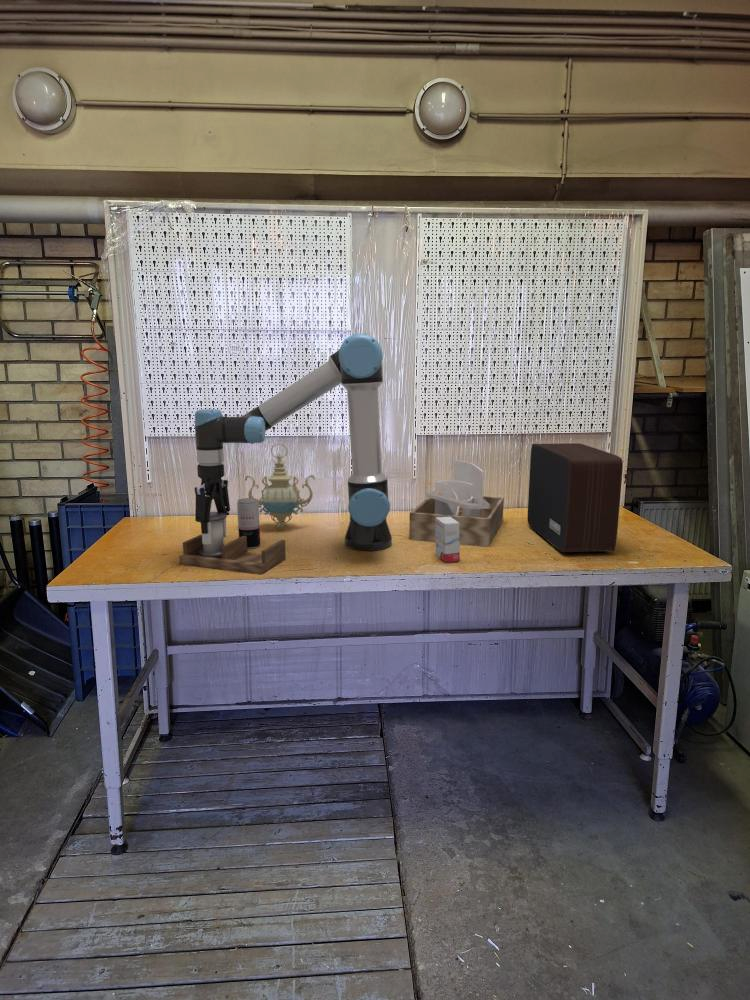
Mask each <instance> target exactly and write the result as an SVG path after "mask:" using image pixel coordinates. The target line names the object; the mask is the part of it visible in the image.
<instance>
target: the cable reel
mask: <svg viewBox="0 0 750 1000" xmlns="http://www.w3.org/2000/svg"><path fill="white" fill-rule="evenodd" d="M227 517H228V515H226V513H223V512H217V511H210V516H209V522H211V536H212V544H203V549H201V550H200V551H199V555H200V556H204V557H213V558H218V557H222V554H221V547H222V546H224V545H225V542H224V541H225V540H224V538H225V537H223V519H225V518H226V519H227ZM199 518H200V517H199Z"/></svg>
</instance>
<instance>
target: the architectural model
mask: <svg viewBox="0 0 750 1000" xmlns="http://www.w3.org/2000/svg"><path fill="white" fill-rule="evenodd" d="M453 468H454V470H453V480H439V481H435V483H434V484H435V486H434V488H435V489H434V491H430V492H429V491H428V492H426V493H425V497H426V498H428V497H429V498H432V499H435V514H440V515H453V516H465V517H478V518H480V509H489V508H490V504H489V503H488V502H487V501H486V500H484V499H483V496H484V477H485V471H484V470H482V469H481V468H480V467H479V466H477V465H476V464H474V463H473V462H469V461H463V460H460V459H459V460H458V459H454V467H453Z"/></svg>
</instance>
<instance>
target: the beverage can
mask: <svg viewBox="0 0 750 1000" xmlns="http://www.w3.org/2000/svg"><path fill="white" fill-rule="evenodd" d="M258 499H259V498H255V497H253V498H249V497H245V498H244V497H243V498H240V499H237V502H236V506H237V507H236V508H237V509H236V510H237V524H238V525H237V527H238V529H237V530H238V538H240V537H242V536H247V550H251V549H256V548H259V547H260V545H261V531H260V530H261V528H260V512H259V511H260V508H259V506H260V505H259V504H258Z"/></svg>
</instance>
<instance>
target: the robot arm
mask: <svg viewBox="0 0 750 1000" xmlns="http://www.w3.org/2000/svg"><path fill="white" fill-rule="evenodd" d="M383 354H384V353H383V348H382V346H381V344H380V343H379V342H378V340H377V339H376V338H375V337H374V336H372V335H370V334H367V333H361V332H358V333H355V334H354V333H353V334H352V335H349V336H348V337H346V339H344V340H343V342H342V343H341V345H340V347H339V349H337V350H336V351H335V352H334V353H332V354H330V355H329V357H328V360H327V361H326V362H325V363H323V364H322V365H320V366H318V367H317V368H315V369H314V370H312V371H311V372H309V373H307V374H306V375H304V376H302V377H301V378H300V379H298V380H297V381H295V382H293V383H292V384H291V385H289V386H287V387H286V388H284V389H282V390H281V391H279V392H277V394H274V395H273V396H271V397H270V398H268V399H267V400H265V401H264V402H263V403H260V404H259V405H258V406H256V407H254V408H253V409H251V410H250V411H248V412H246V413H245V414H243V415H242V416H225V415H223V414H222V410H220V409H215V408H206V409H205V408H203V409H198V410H196V411H195V412H194V432H195V434H194V435H195V445H196V447H195V448H196V462H197V463H198V464H197V467H196V470H197V477H198V478H200V481H201V483H200V486H199V487H197V486H195V487H194V494H195V514H194V515H195V516H194V517H195V522H197V523H200V528H201V529H200V531H201V532H200V533H201V534H202V544H212V536H211V522H209V516H210V512H211V508H212V502H214V505H215V508H216V512H223V513H226V515H227V516H230V511H231V506H230V504H231V503H230V497H229V488H228V487H229V484H228V483H229V481H228V479H222V478H223V477H224V476H225V464H224V462H225V456H224V444H230V443H231V444H251V445H253V444H260V443H264V442H265V438H266V432H267V431H268V430H270V429H271V428H272V427H274V426H276V425H277V424H279V423H280V422H282V421H283V420H286V419H287V418H289V417H291V415H293V414H295V413H297V412H298V411H300V410H301V409H304V407H306V406H307V405H309V404H311V403H312V402H314V401H315V400H318V399H319V398H321V396H324V395H325V394H326V393H328V392H330V391H331V390H333V389H334V388H336V387H337V386H338V387H339V386H340V385H341V386H342V387H343V388H344V389H345V390H346V391H347V405H348V409H347V410H348V419H349V420H348V421H349V422H348V423H349V424H348V425H349V438H350V439H349V440H350V441H349V443H350V455H351V469H352V471H351V472H352V473H351V474H350V476H349V477H348V478H347V491H348V493H347V494H348V505H347V507H348V513H349V522H348V526H347V529H346V533H345V535H344V546H345V547H346V548H348V549H351V550H355V551H356V550H357V551H370V552H371V551H381V550H385V549H388V548H390V547H391V546H392V545H393V544H392V543H393V538H392V534H391V531H390V527H389V524H388V522H387V517H388V515H389V514H390V513H389V512H390V510H391V503H390V500H389V484H388V477H387V476H386V474H384V473H383V467H382V451H381V450H382V449H381V446H382V445H381V431H380V430H381V429H380V413H379V412H380V411H379V408H380V407H379V392H378V390H379V388H380V386H381V385H382V384H383V383H384V379H383V359H384V358H383V356H384V355H383ZM199 517H200V518H199ZM223 538H227V518H225V519H223Z"/></svg>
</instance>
